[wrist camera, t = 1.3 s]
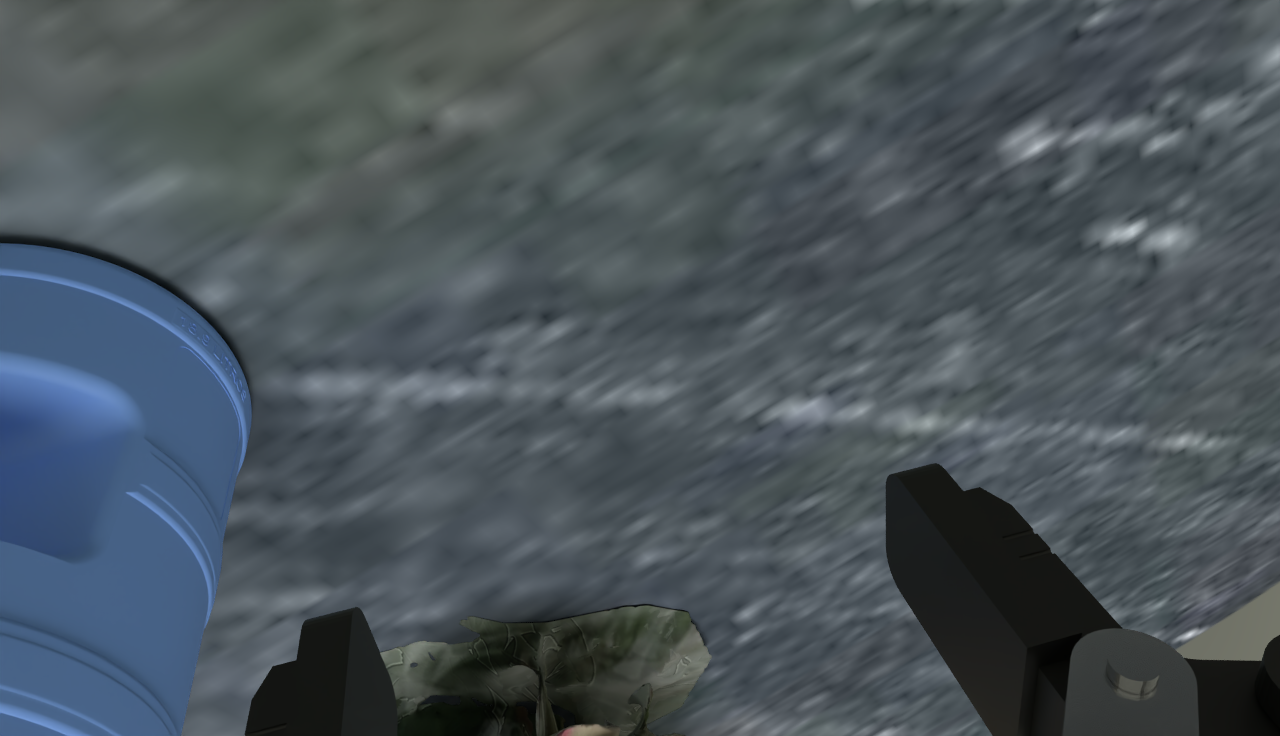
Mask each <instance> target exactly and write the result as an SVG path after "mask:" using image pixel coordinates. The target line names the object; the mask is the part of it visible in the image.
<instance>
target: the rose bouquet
mask: <svg viewBox="0 0 1280 736" xmlns="http://www.w3.org/2000/svg"><path fill="white" fill-rule="evenodd" d="M459 624H460V625H462V626H465V627H466V628H468V629H470V630H471V631H474V632H478V633H479V634H480V637H478V638H476V639H475V640H474V641H473V642H464V643H458V644H453V645H448V644H447V643H444V642H426V641H422V642H420V641H418V643H415V642H414V644H410V645H406V647H397V648H395V649H392V650H389V651H385V652H382V653H380V654H381V656H382V659H383V661H384V663H385V666H386V668H387V670H388V673H389V675H390V678H391V681H392V684H393V688H394V693H395V698H396V705H397V716H398V727H397V736H656V735H654V734H653V733H651V732H650V731H649V730H648V729H647V724H649V723H651V722H653V721H655V720H657V719H659V718H661V717H663V716H665V715H667V714H669V713H671V712H673V711H675V710H677V709H679V708H681V707H682V705H683V704H684V701H685V700H686V698H687V697H688V696H689V695H688V693H689V692H690V691H691V690H692V689H693V686H695V683H696V682H698V681H696V680H698V679H699V678H698V677H700V676H701V675H700V674H702V673H703V672H704V668H706V667H707V665H708V663H709V661H710V659H711V658H712V656H711V655H709V653H708V651H707V650H708V648H707V647H706V646H703V645H704V643H703V641H701V640H702V638H701V637H700V634H699V632H698V631H697V630H696V625H694V624H692V623H691V617H689V613H688V612H686V611H683V610H671V609H666V608H660V607H654V606H648V605H647V606H637V607H621V608H617V609H612V610H607V611H602V612H597V613H592V614H587V615H582V616H577V617H572V618H567V619H563V620H558V621H553V622H548V623H500V622H495V621H491V620H486V619H482V618H477V617H473V616H471V617H468V620H461V623H459ZM428 652H431V653H430V654H431V655H432V656H433V658H435V659H436V660H434V661H433V660H431V657H430V656H429V654H428ZM413 662H415V663H418V666H416V667H414V668H412V667H411V668H410V664H411V663H413ZM431 695H449V696H459V697H460V700H461V702H460V704H459V705H450V704H446V703H445V702H438V703H430V704H423V705H420V704H421V703H422V702H423V701H425V700H426V699H427V698H429V696H431ZM472 698H475V699H477V701H480V702H481V703H484V704H487V706H477V705H476V703H475V702H474V701H472ZM522 701H535V702H537V710H536V713H535V714H531V713H529V712H528V711H527V709H526V708H525V707H524V706H516V703H518V702H522ZM491 704H492V707H491V706H490V705H491ZM551 704H554V705H557V706H559V707H561V708H563V709H566V710H568V711H570V712H571V713H573V714H574V716H575V725H572V726H569V727H567V728H565V729H564V726H563V725H564V723H565V719H563V717H561V716H559V715H555V714H553V711H552V708H551ZM662 736H686V735H680V734H676V733H673V734H670V735H662Z"/></svg>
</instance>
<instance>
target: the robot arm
mask: <svg viewBox="0 0 1280 736" xmlns="http://www.w3.org/2000/svg"><path fill="white" fill-rule="evenodd" d="M886 553H887V559H888V564H889V567H890V571H891V573H892V576H893V579H894V581H895V583H896V585H897V587H898V589H899V591H900V592H901V594H902V595H903V597H904V598H905V600H906V602H907V603H908V605H909V606H910V608H911V609H912V611H913V612H914V614H915V616H916V617H917V619H918V620H919V622H920V623H921V625H922V626H923V628H924V630H925V631H926V633H927V634H928V636H929V637H930V639H931V640H932V642H933V644H934V645H935V647H936V648H937V650H938V651H939V653H940V654H941V656H942V658H943V659H944V661H945V662H946V664H947V665H948V667H949V668H950V670H951V672H952V673H953V675H954V676H955V678H956V679H957V681H958V682H959V684H960V686H961V687H962V689H963V690H964V692H965V693H966V695H967V696H968V698H969V700H970V701H971V703H972V704H973V706H974V707H975V709H976V710H977V712H978V714H979V715H980V717H981V718H982V720H983V721H984V723H985V724H986V726H987V728H988V729H989V731H990V732H991V734H992V735H993V736H1280V635H1279V636H1277V637H1275V638H1274V639H1273V640H1271V641H1270V642H1269V643H1268V645H1267V647H1266V649H1265V651H1264V655H1263V658H1262V661H1233V660H1232V661H1231V660H1225V661H1224V660H1196V659H1187V658H1183V657H1182V655H1180V654H1179V653H1178V652H1177V651H1176V650H1175V649H1174V648H1172V647H1171V646H1169V645H1168V644H1166V643H1165V642H1163V641H1161V640H1159V639H1157V638H1155V637H1153V636H1150V635H1147V634H1145V633H1142V632H1138V631H1134V630H1128V629H1123V628H1122V627H1121V626H1120V625H1119V624H1118V623H1117V622H1116V621H1115V620H1114V619H1113V618H1112V616H1111V615H1110V614H1109V613H1108V612H1107V611H1106V610H1105V609H1104V608H1103V606H1102V605H1101V604H1100V603H1099V602H1098V601H1097V600H1096V599H1095V598H1094V596H1093V595H1092V594H1091V593H1090V592H1089V591H1088V590H1087V589H1086V588H1085V586H1084V585H1083V584H1082V583H1081V582H1080V581H1079V580H1078V579H1077V578H1076V576H1075V575H1074V574H1073V573H1072V572H1071V571H1070V570H1069V569H1068V567H1067V566H1066V565H1065V564H1064V563H1063V562H1062V561H1061V560H1060V559H1059V557H1058V556H1057V555H1056V554H1055V553H1054V554H1052V553H1051V550H1050V547H1049V546H1048V545H1047V544H1046V543H1045V542H1044V541H1043V540H1042V539H1041V537H1040V536H1039V535H1038V534H1034V532H1033V529H1032V527H1031V526H1030V525H1029V524H1028V523H1027V522H1026V521H1025V520H1024V518H1023V517H1022V516H1021V515H1020V514H1019V513H1018V512H1017V511H1016V510H1015V508H1014V507H1013V506H1012V505H1011V504H1009V503H1007V502H1005V501H1003V500H1002V499H1000V498H998V497H996V496H995V495H993V494H991V493H989V492H987V491H986V490H984V489H982V488H980V487H979V488H975V489H971V490H967V491H963V490H962V489H961V488H960V487H959V486H958V484H957V483H956V482H955V481H954V480H953V478H952V477H951V476H950V475H949V474H948V472H947V471H946V470H945V469H944V468H943V467H942V466H941V465H939V464H937V463H934V464H930V465H926V466H922V467H918V468H914V469H910V470H906V471H902V472H898V473H894V474H891V475H889V476H888V477H887V480H886ZM397 727H398V716H397V705H396V698H395V693H394V688H393V684H392V681H391V678H390V675H389V673H388V670H387V668H386V666H385V663H384V661H383V659H382V656H381V654H380V652H379V649H378V647H377V644H376V642H375V640H374V637H373V635H372V633H371V630H370V628H369V626H368V623H367V621H366V618H365V616H364V614H363V612H362V611H361V609H360V608H358V607H355V608H351V609H347V610H343V611H339V612H335V613H331V614H327V615H323V616H319V617H315V618H311V619H307V620H305V621H304V623H303V625H302V629H301V635H300V641H299V648H298V654H297V660H296V661H292V662H288V663H284V664H280V665H276V666H273V667H272V668H271V670H270V672H269V673H268V675H267V676H266V678H265V680H264V681H263V683H262V684H261V686H260V688H259V689H258V691H257V692H256V694H255V696H254V697H253V699H252V701H251V706H250V711H249V716H248V721H247V726H246V731H245V735H246V736H397Z"/></svg>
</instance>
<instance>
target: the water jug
mask: <svg viewBox="0 0 1280 736" xmlns="http://www.w3.org/2000/svg"><path fill="white" fill-rule="evenodd" d="M251 420H252V408H251V399H250V393H249V389H248V385H247V382H246V379H245V376H244V374H243V371H242V369H241V367H240V365H239V363H238V361H237V359H236V358H235V356H234V354H233V353H232V351H231V350H230V348H229V347H228V345H227V344H226V342H225V341H224V340H223V339H222V337H221V336H220V335H219V334H218V333H217V331H216V330H215V329H214V328H213V327H212V326H211V325H210V324H209V323H208V322H207V321H206V320H205V319H204V318H203V317H202V316H201V315H200V314H198V313H197V312H196V311H195V310H194V309H193V308H191V307H190V306H189V305H188V304H186V303H185V302H184V301H182V300H181V299H179V298H178V297H177V296H175V295H174V294H172V293H171V292H169V291H167V290H166V289H164V288H163V287H161V286H159V285H157V284H156V283H154V282H152V281H150V280H148V279H146V278H144V277H142V276H140V275H138V274H136V273H134V272H132V271H129V270H127V269H125V268H122V267H120V266H117V265H115V264H112V263H109V262H106V261H103V260H100V259H97V258H94V257H91V256H87V255H83V254H80V253H75V252H71V251H67V250H62V249H56V248H51V247H44V246H36V245H26V244H9V243H0V736H181V733H182V728H183V724H184V719H185V715H186V710H187V705H188V701H189V696H190V692H191V687H192V682H193V678H194V673H195V668H196V664H197V659H198V654H199V650H200V645H201V640H202V636H203V631H204V629H205V627H206V625H207V622H208V620H209V617H210V614H211V610H212V608H213V604H214V600H215V595H216V591H217V586H218V581H219V576H220V572H221V564H222V553H223V545H222V543H223V538H224V534H225V529H226V524H227V520H228V515H229V510H230V506H231V501H232V496H233V492H234V487H235V483H236V478H237V475H238V473H239V471H240V469H241V466H242V464H243V461H244V457H245V453H246V448H247V444H248V439H249V434H250V429H251Z"/></svg>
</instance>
